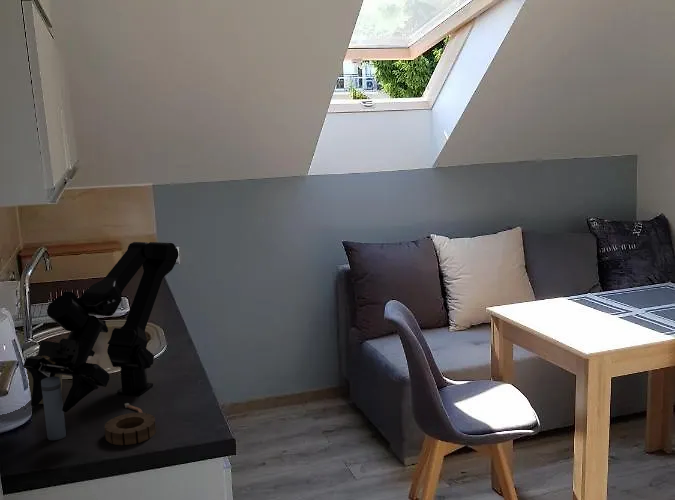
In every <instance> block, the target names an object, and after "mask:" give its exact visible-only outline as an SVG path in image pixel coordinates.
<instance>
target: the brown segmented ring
mask: <svg viewBox="0 0 675 500" xmlns="http://www.w3.org/2000/svg"><path fill="white" fill-rule="evenodd" d="M156 433H157V428H156V417H155V416H154V415H152V414H150V413H147V412H143V413H139V412H138V411H136V412H130V413H129V412H128V413H124V414H120V415H118V416H115V417H113V418H111V419H109V420H108V421H107V422H105V424H104V435H105V440H106V442H108V443H109V444H111V445H112V444H113V445H116V446H124V445H125V446H128V445H129V446H131V445H137V443H138V444H140V443H142V442H145V441H147V440H149V439H151V438H152V437H153V436H155V434H156Z"/></svg>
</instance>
